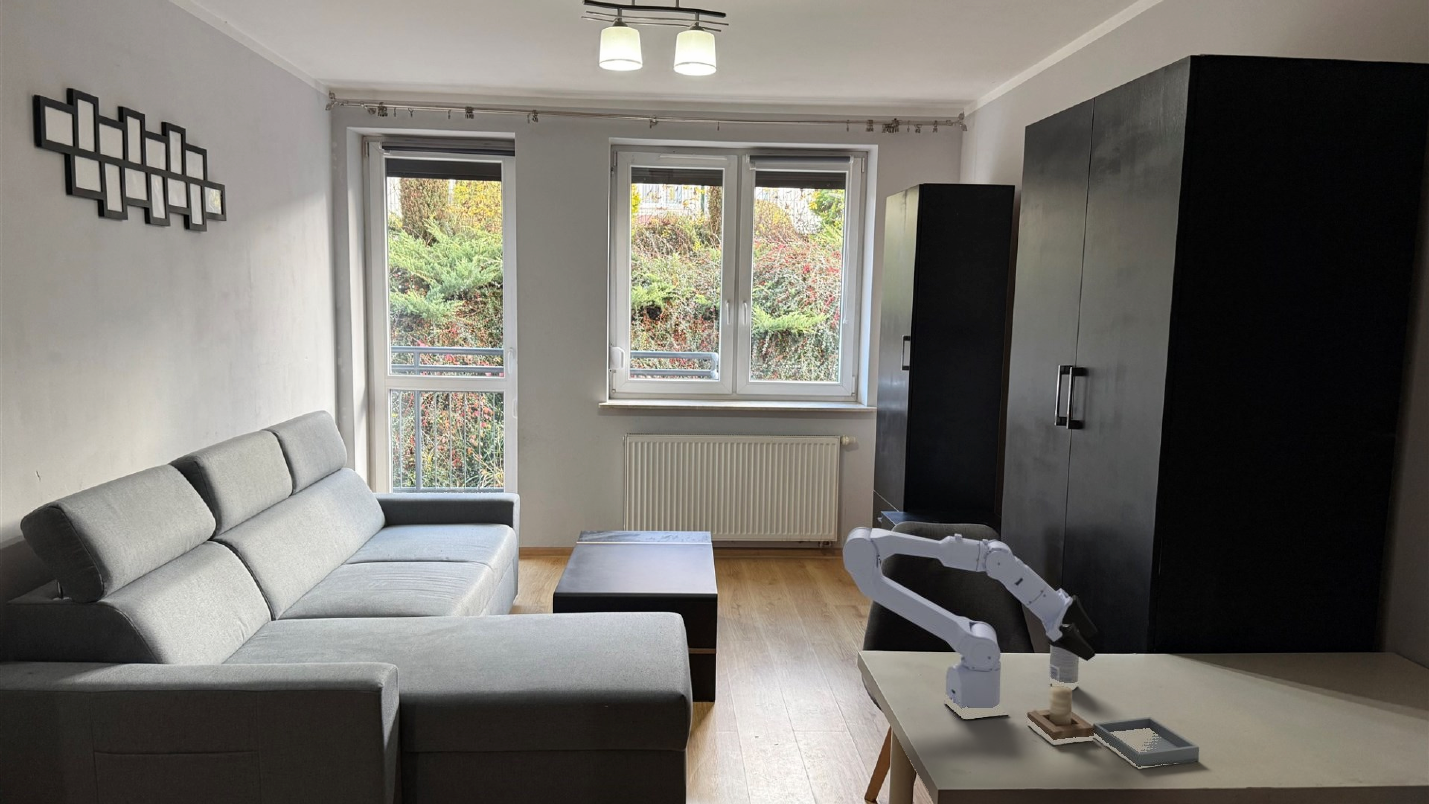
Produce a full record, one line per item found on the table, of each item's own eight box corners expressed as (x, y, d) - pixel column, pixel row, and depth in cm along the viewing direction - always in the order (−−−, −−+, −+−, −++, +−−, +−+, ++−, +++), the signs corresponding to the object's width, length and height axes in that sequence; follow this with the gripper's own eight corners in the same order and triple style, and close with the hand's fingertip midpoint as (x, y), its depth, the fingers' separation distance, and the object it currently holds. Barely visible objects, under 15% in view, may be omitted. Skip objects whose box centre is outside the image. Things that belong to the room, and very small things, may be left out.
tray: (1137, 769, 143) (1138, 754, 143) (1092, 737, 155) (1093, 723, 154) (1198, 761, 146) (1199, 747, 146) (1149, 730, 157) (1150, 716, 157)
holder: (1053, 745, 151) (1053, 732, 151) (1027, 725, 159) (1027, 712, 159) (1093, 740, 153) (1094, 727, 153) (1066, 720, 161) (1066, 707, 161)
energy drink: (1073, 681, 179) (1074, 624, 178) (1081, 692, 174) (1083, 633, 173) (1046, 680, 180) (1047, 623, 178) (1053, 690, 174) (1055, 632, 173)
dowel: (1056, 738, 154) (1058, 694, 153) (1044, 729, 158) (1046, 686, 157) (1075, 736, 155) (1076, 692, 154) (1062, 727, 158) (1064, 684, 158)
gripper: (1047, 601, 154) (1107, 656, 152) (1054, 562, 166) (1110, 613, 164) (1018, 623, 157) (1076, 677, 156) (1027, 583, 170) (1082, 633, 168)
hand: (1092, 645), depth 160 cm, fingers open, 7 cm apart
